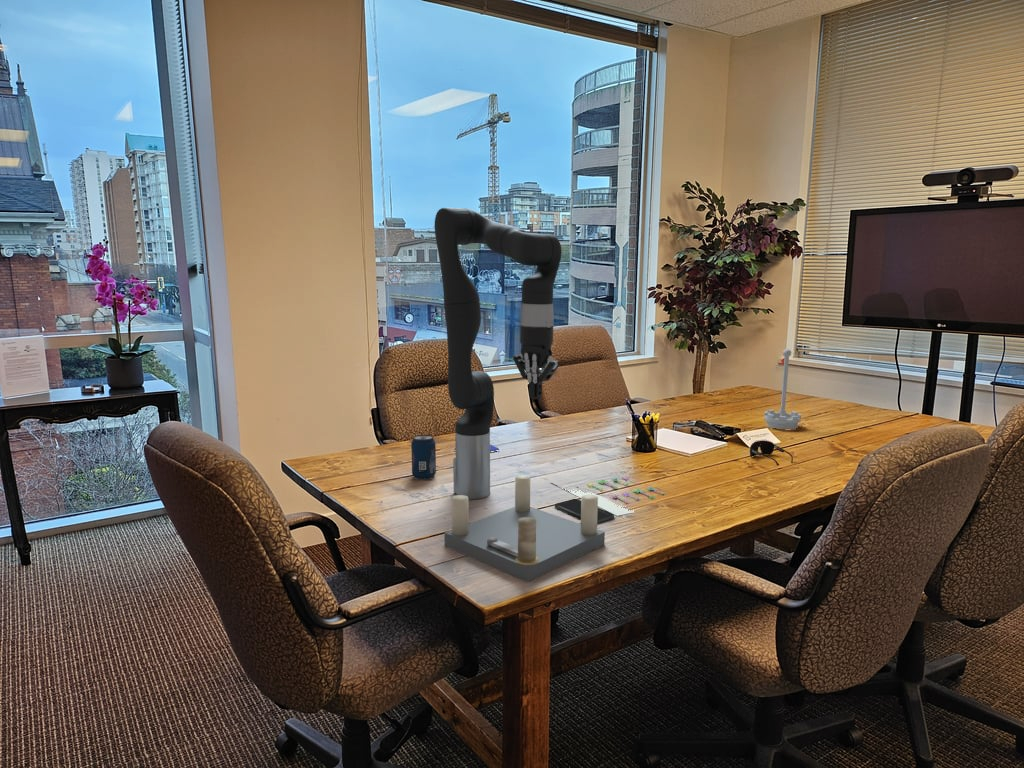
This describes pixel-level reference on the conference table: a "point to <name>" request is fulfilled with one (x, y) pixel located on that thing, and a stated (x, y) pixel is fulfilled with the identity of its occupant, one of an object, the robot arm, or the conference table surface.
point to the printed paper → (610, 505)
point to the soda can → (423, 457)
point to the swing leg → (520, 541)
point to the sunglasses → (765, 449)
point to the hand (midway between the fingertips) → (535, 398)
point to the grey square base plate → (553, 534)
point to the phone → (574, 510)
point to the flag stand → (783, 404)
